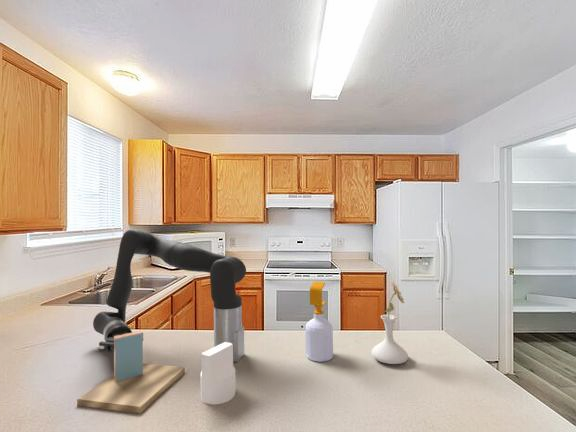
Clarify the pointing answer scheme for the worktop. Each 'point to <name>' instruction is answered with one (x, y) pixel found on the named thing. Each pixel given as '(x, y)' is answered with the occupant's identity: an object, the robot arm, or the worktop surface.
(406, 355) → the flower in vase
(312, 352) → the soap bottle
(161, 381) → the board
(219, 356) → the base with upright slab
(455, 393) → the worktop surface
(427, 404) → the worktop surface
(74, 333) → the worktop surface
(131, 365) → the tile
